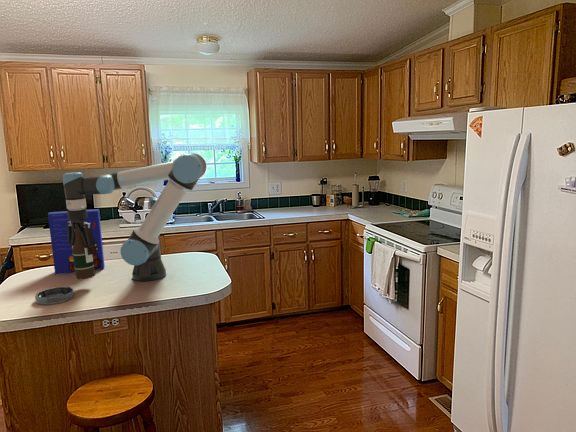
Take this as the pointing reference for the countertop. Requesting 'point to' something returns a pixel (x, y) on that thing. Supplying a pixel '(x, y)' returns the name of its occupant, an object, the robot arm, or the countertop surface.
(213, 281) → the countertop surface
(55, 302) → the dark grey shallow dish
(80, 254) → the beer bottle
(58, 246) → the cereal box
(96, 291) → the countertop surface
